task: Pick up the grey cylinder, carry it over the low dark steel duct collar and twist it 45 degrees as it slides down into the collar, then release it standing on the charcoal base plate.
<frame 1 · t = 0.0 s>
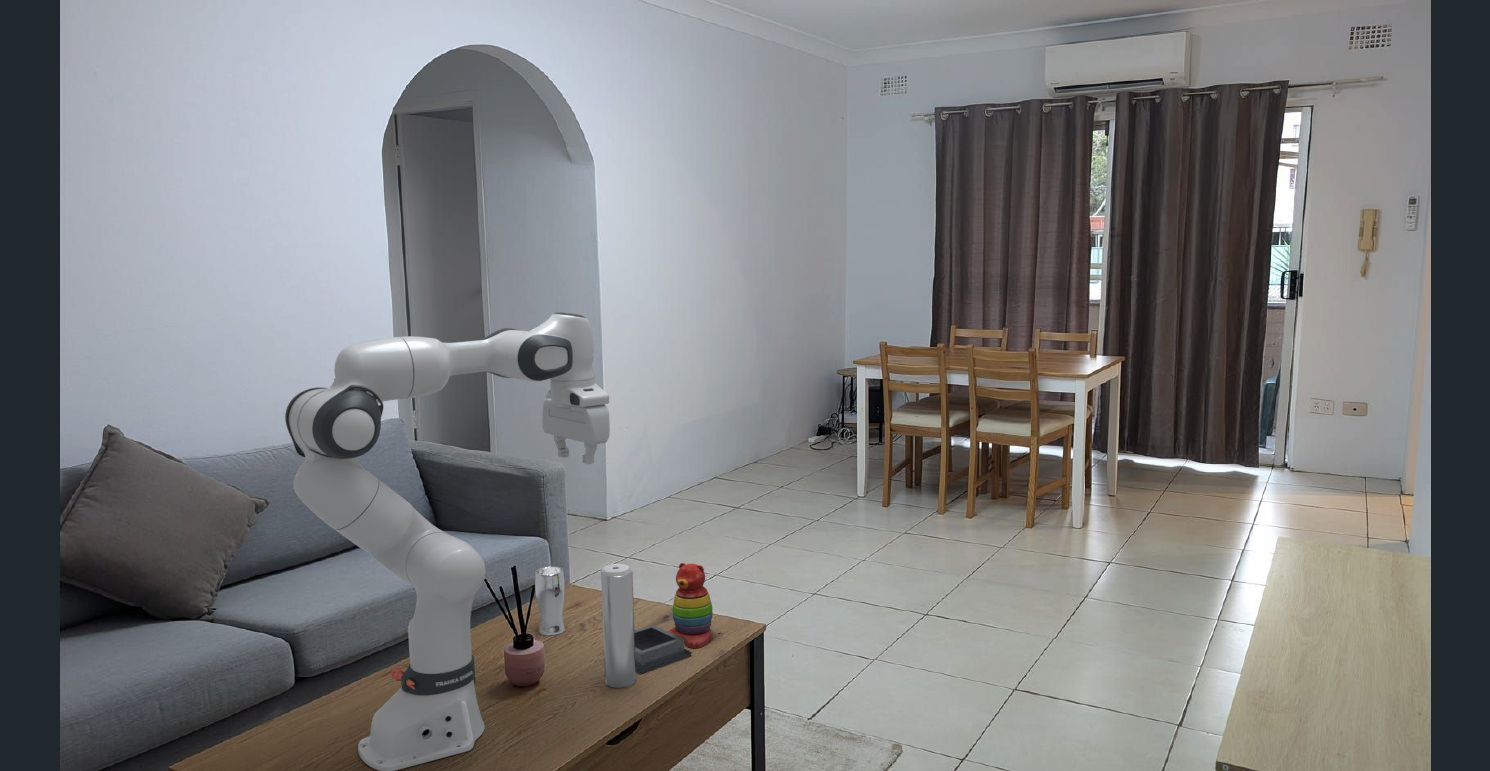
hand: (575, 460, 197), 48 cm above the table, fingers open, 8 cm apart
stacking bear: (692, 638, 228), on the table
duct collar: (647, 655, 218), on the table
beer glass: (552, 631, 233), on the table
grey cylinder: (620, 682, 205), on the table
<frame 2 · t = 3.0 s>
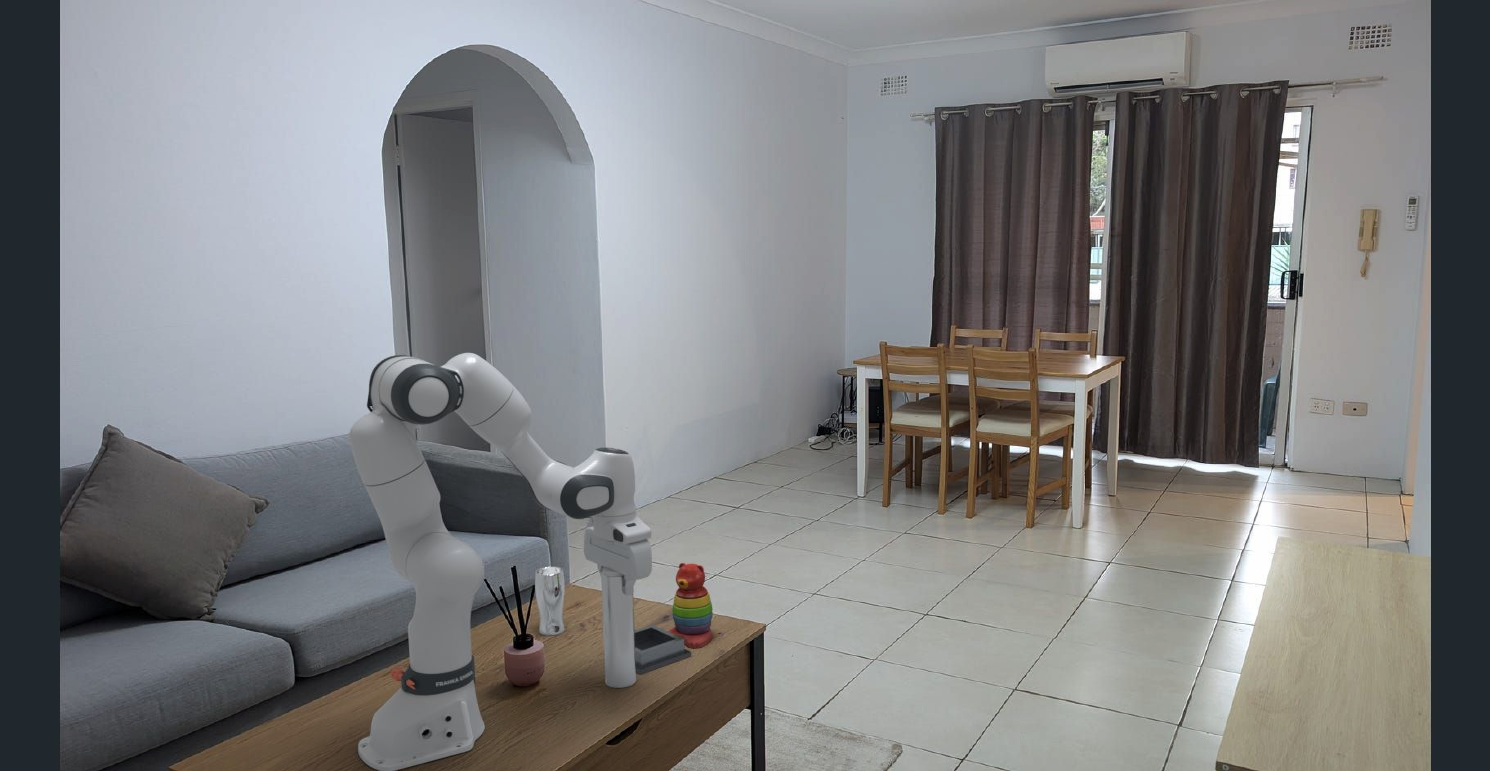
hand: (617, 589, 202), 20 cm above the table, fingers closed on grey cylinder, 6 cm apart
grey cylinder: (620, 682, 205), on the table, touching gripper
everything else where it was.
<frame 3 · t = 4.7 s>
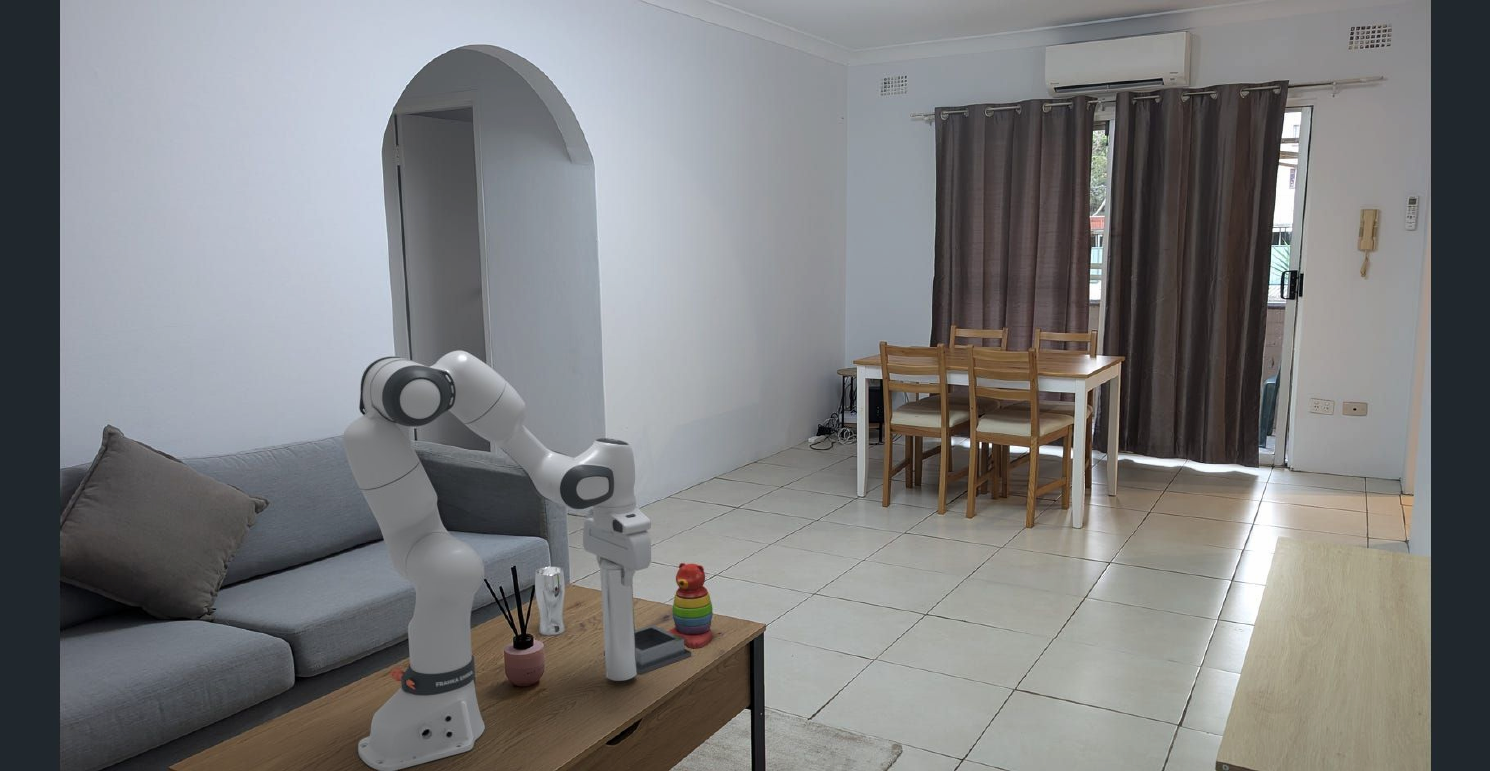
hand: (616, 580, 202), 22 cm above the table, fingers closed on grey cylinder, 6 cm apart
grey cylinder: (621, 675, 205), point 1 cm above the table, touching gripper
everything else where it was.
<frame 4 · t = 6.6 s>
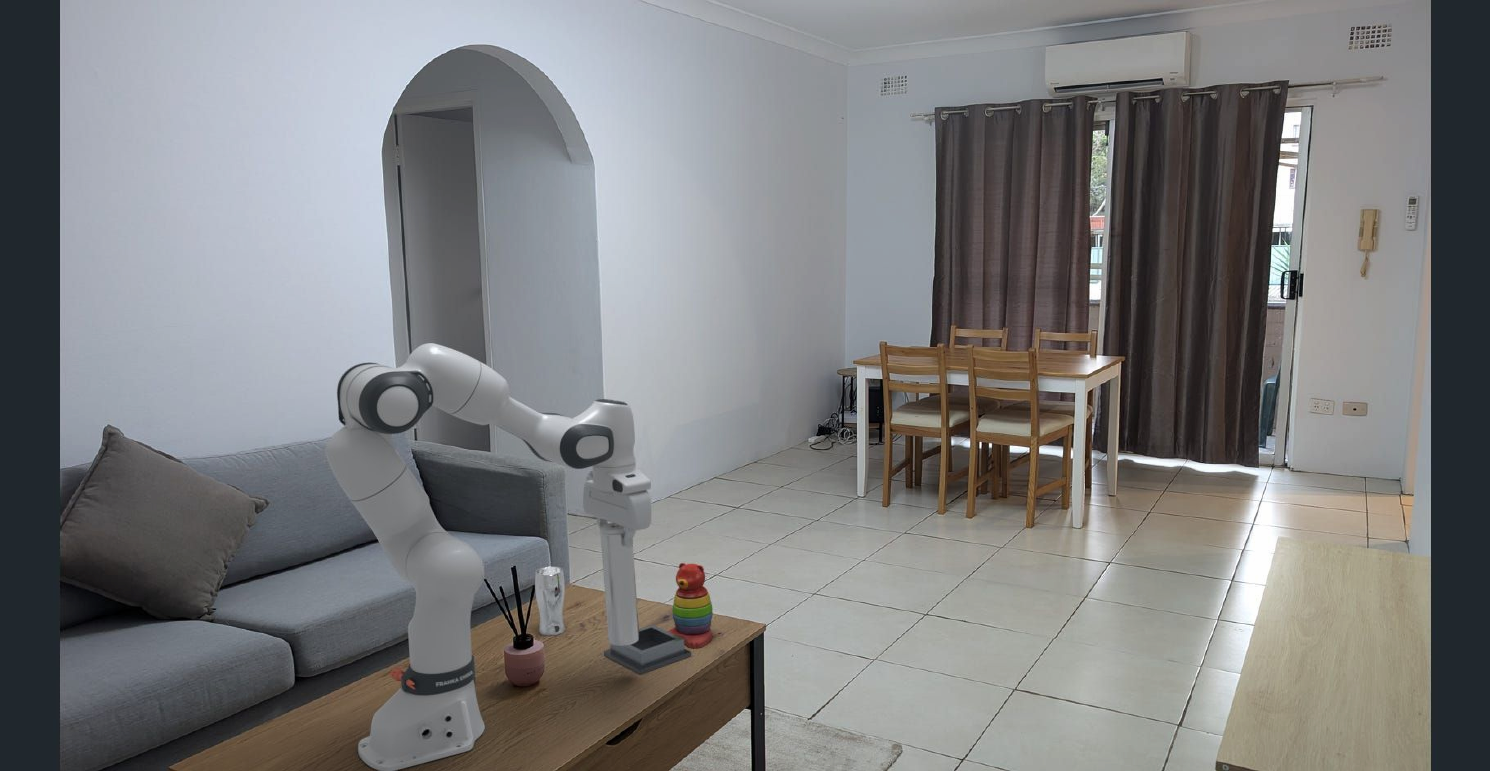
hand: (616, 542, 201), 30 cm above the table, fingers closed on grey cylinder, 6 cm apart
grey cylinder: (624, 640, 204), point 9 cm above the table, touching gripper
everything else where it was.
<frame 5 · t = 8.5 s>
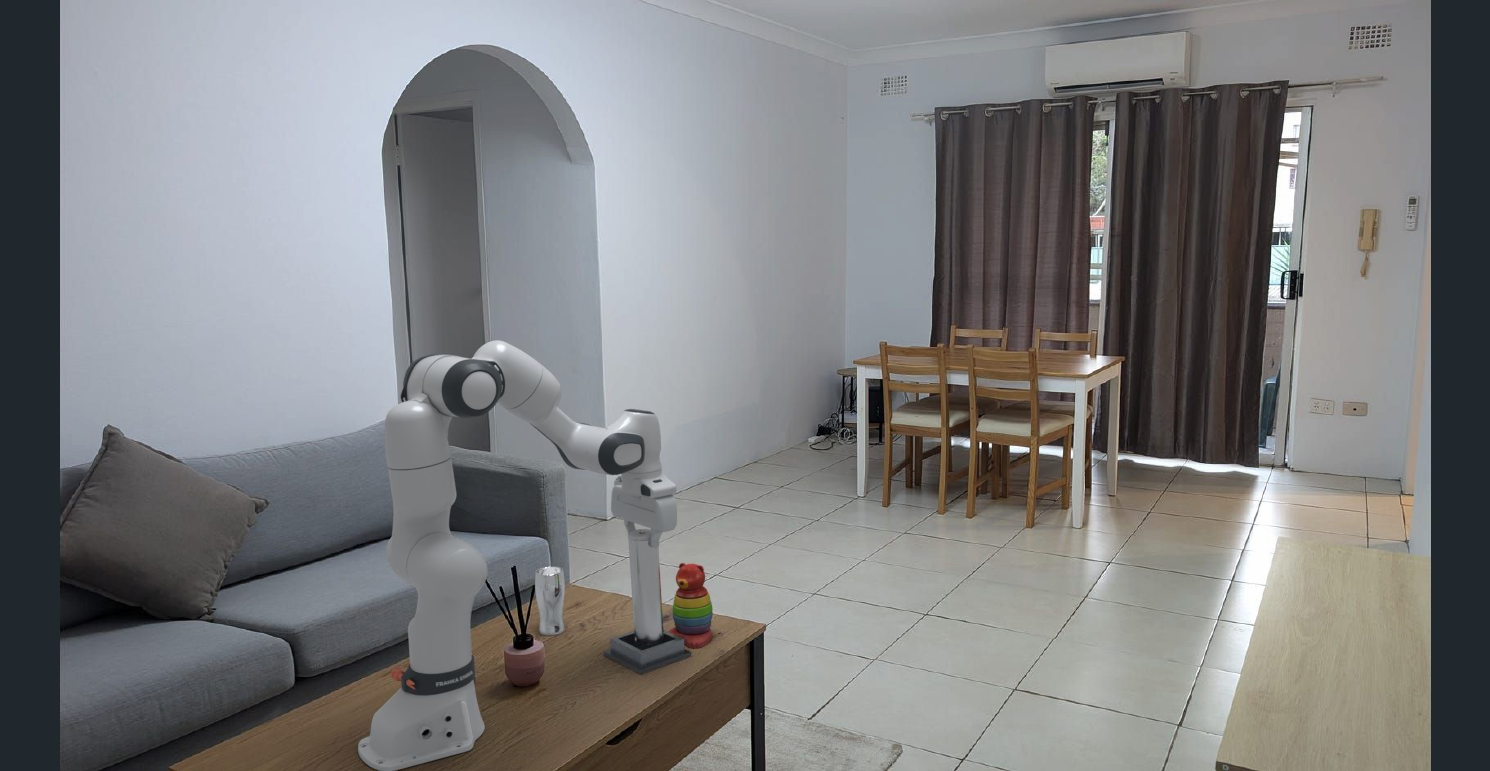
hand: (643, 543, 214), 26 cm above the table, fingers closed on grey cylinder, 6 cm apart
grey cylinder: (649, 640, 218), point 3 cm above the table, touching gripper
everything else where it was.
when the fingers open (23 cm above the table, at t = 10.1 s): grey cylinder stays where it is, resting on duct collar.
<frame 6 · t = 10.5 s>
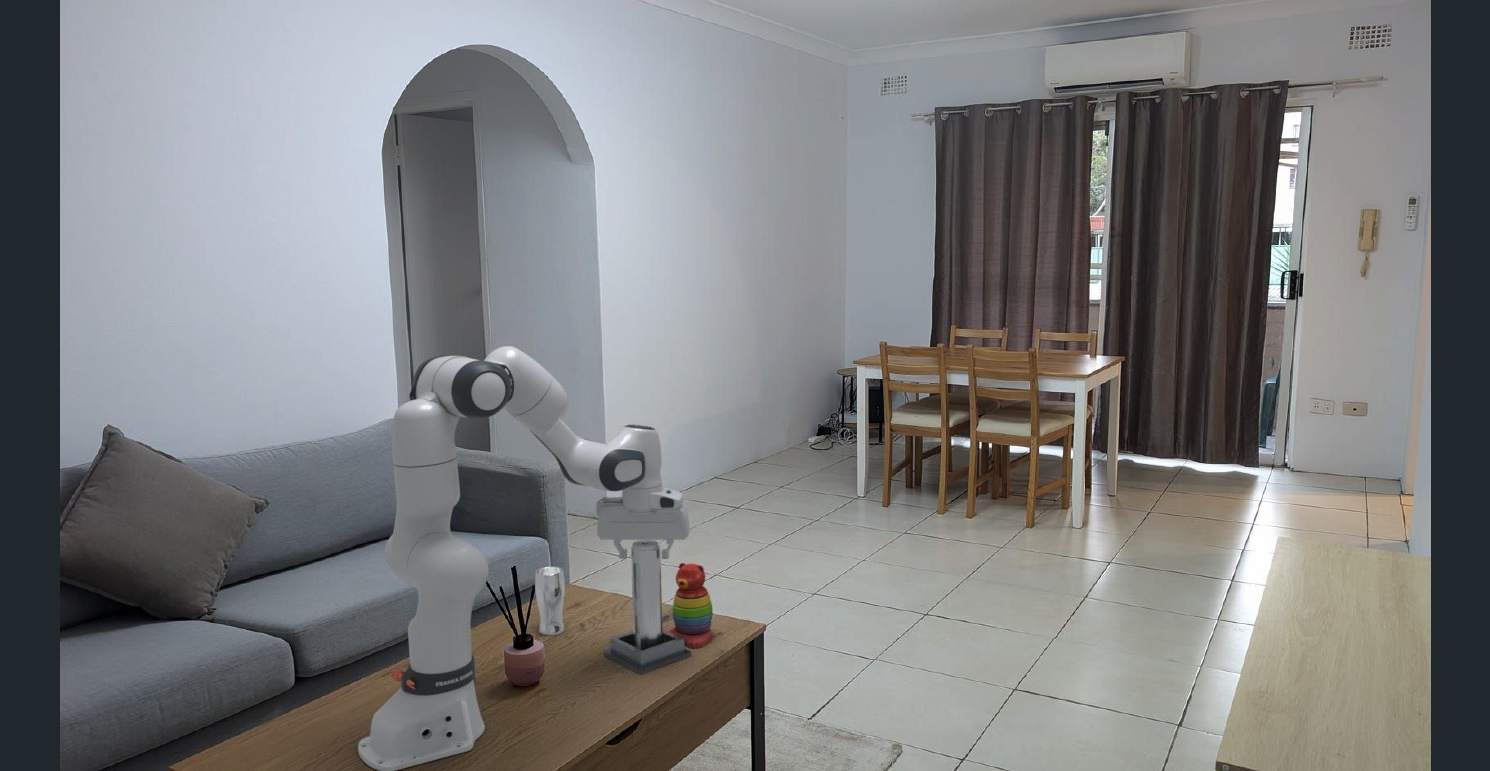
hand: (644, 558, 215), 23 cm above the table, fingers open, 8 cm apart
grey cylinder: (648, 650, 218), point 1 cm above the table, touching duct collar
everything else where it was.
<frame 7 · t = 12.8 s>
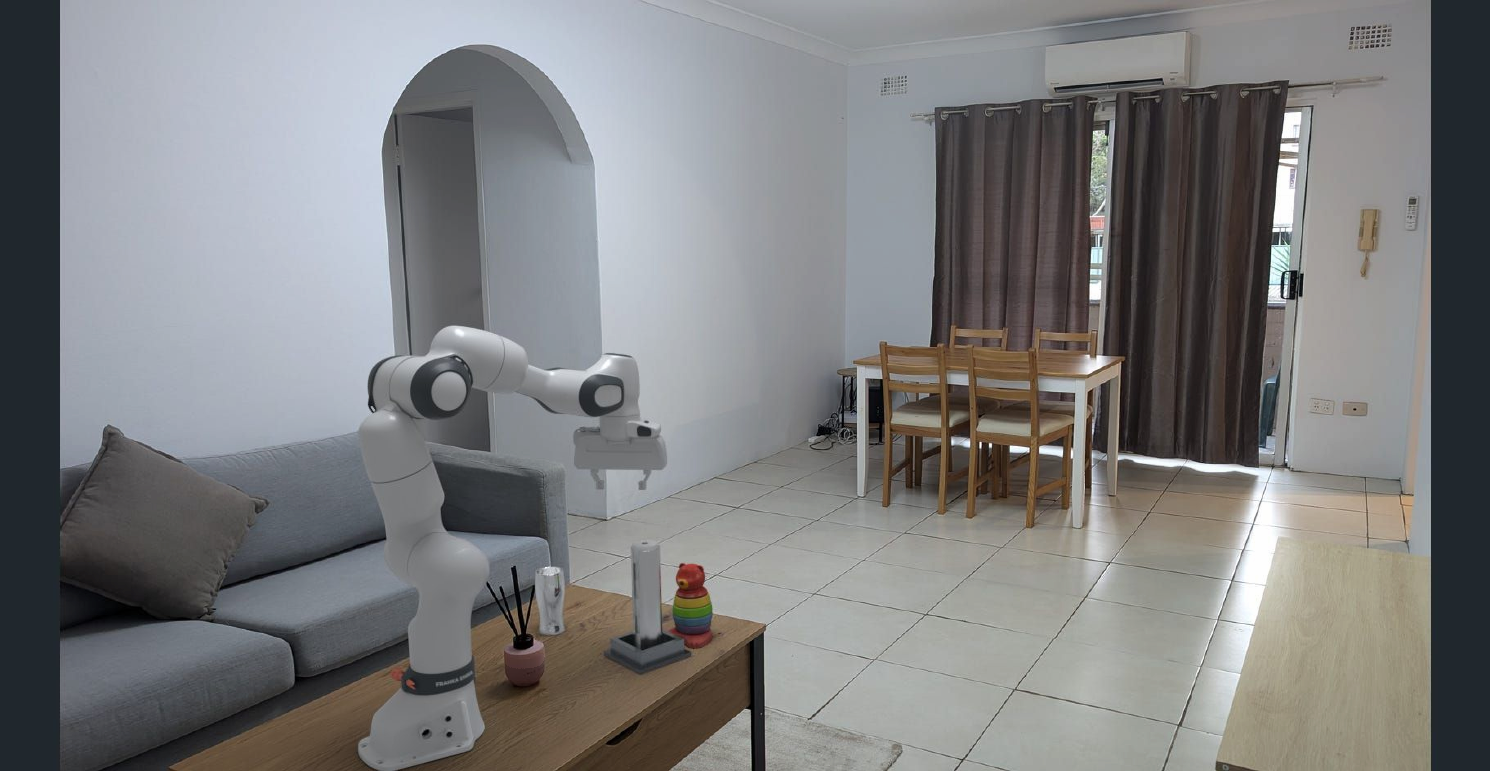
hand: (621, 489, 213), 38 cm above the table, fingers open, 8 cm apart
nothing on the table moved.
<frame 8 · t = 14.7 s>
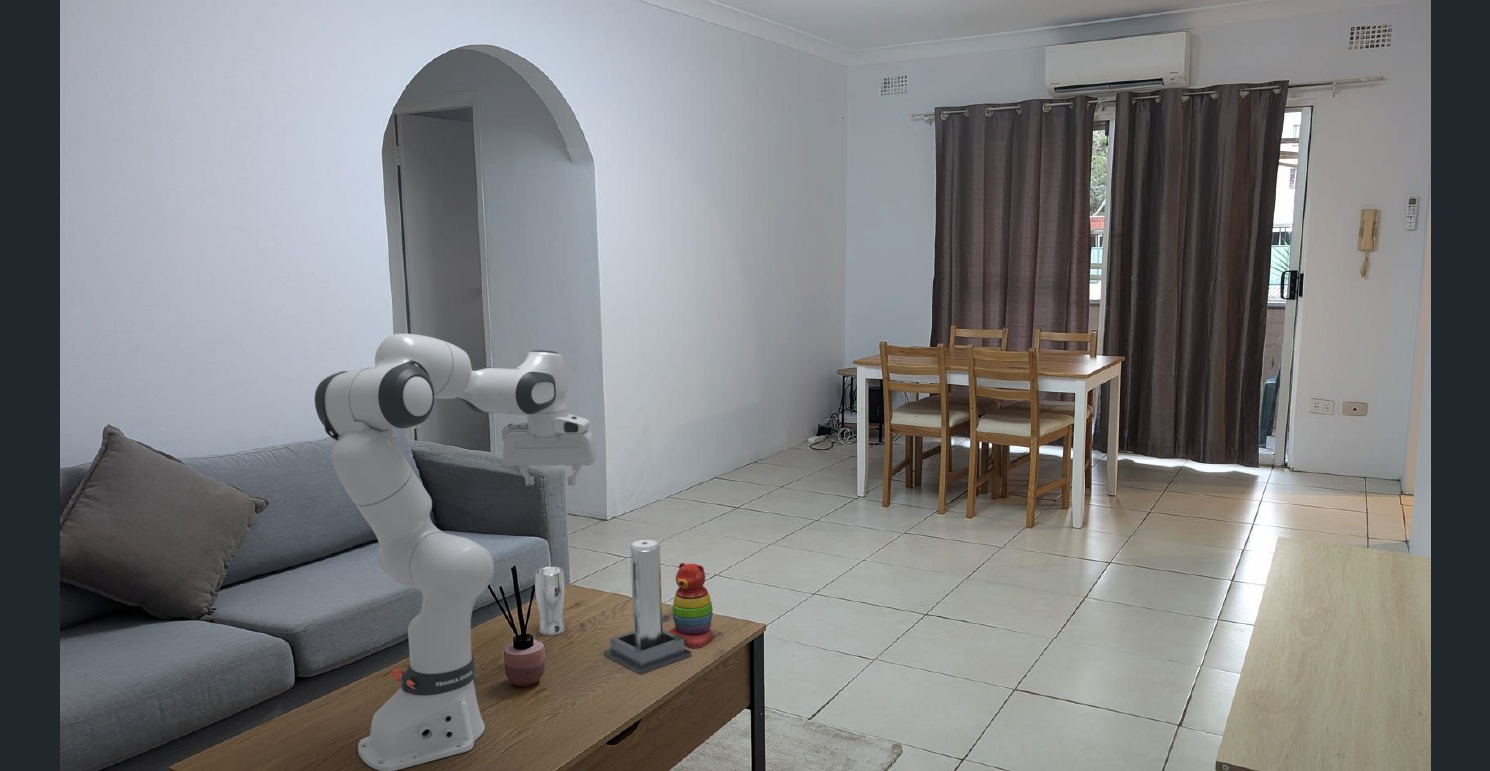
hand: (550, 484, 215), 39 cm above the table, fingers open, 8 cm apart
nothing on the table moved.
at the end: grey cylinder 0.8 cm off-centre on the duct collar, point 0.8 cm above the duct collar's base; grey cylinder tilted 0°; the gripper is holding nothing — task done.
